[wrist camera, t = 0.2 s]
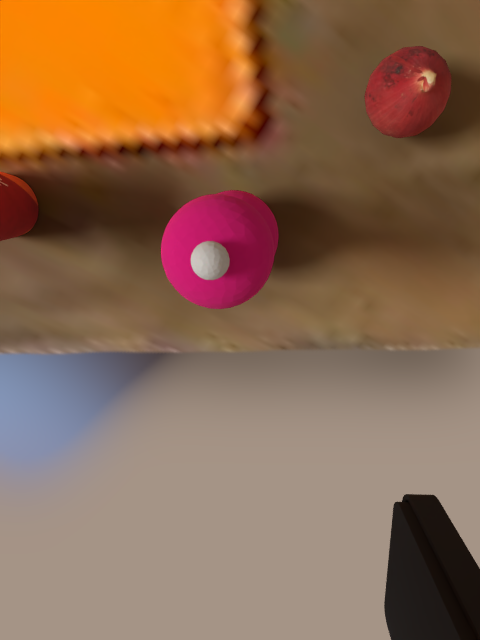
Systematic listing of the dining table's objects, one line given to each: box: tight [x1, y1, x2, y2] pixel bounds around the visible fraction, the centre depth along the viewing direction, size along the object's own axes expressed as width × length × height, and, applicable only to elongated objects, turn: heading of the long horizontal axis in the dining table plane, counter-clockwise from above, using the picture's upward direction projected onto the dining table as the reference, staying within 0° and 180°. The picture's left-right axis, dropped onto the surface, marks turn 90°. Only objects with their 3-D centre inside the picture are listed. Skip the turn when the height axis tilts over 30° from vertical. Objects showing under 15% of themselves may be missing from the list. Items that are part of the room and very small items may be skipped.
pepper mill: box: [161, 190, 279, 309], centre depth 27 cm, size 7×7×20 cm
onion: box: [365, 46, 451, 138], centre depth 30 cm, size 6×6×8 cm
